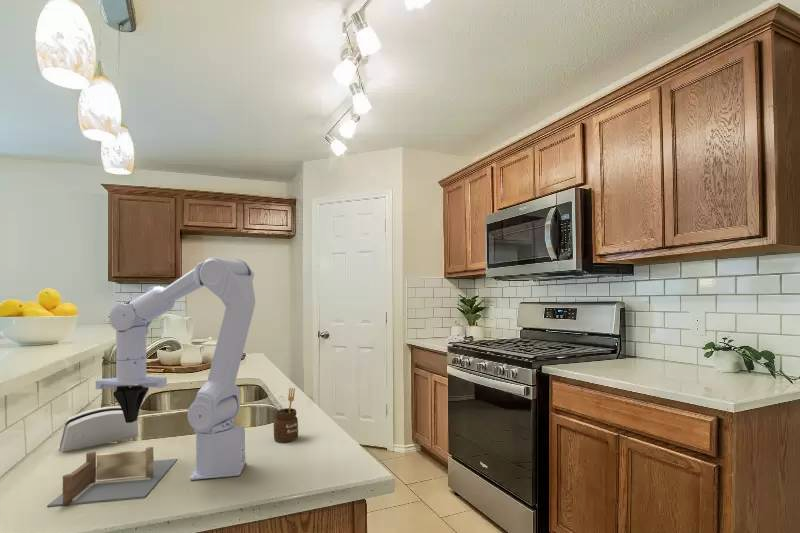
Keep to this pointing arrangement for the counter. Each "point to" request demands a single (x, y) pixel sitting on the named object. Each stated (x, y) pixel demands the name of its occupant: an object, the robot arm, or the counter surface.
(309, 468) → the counter surface
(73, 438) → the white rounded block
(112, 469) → the fence panel
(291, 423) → the utensil holder
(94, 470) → the fence post and rail
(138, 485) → the mat
